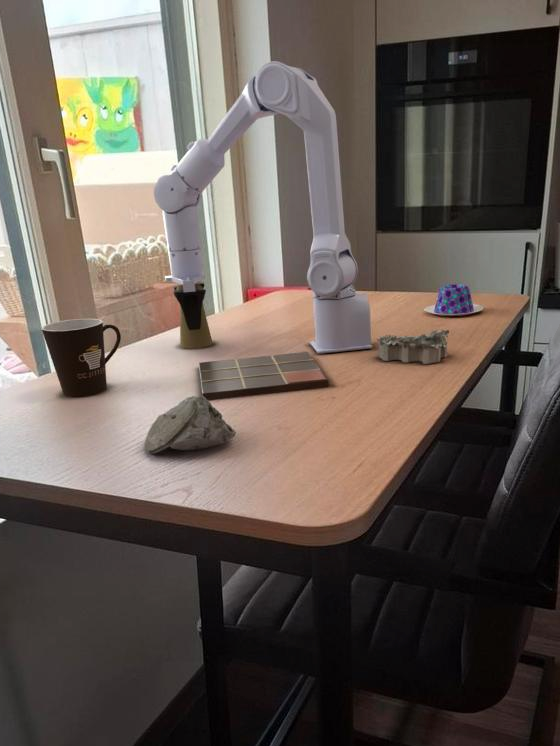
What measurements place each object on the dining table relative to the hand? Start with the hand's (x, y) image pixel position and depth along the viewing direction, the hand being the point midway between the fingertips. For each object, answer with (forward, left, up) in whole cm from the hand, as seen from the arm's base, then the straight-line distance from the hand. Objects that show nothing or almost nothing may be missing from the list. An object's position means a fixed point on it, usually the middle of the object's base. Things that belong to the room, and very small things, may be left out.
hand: (194, 326), depth 129 cm
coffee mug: (+16, +24, -4) cm, 29 cm away
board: (-9, +27, -3) cm, 29 cm away
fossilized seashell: (+2, +53, -4) cm, 53 cm away
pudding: (-53, -7, -4) cm, 54 cm away
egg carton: (-34, +25, -4) cm, 42 cm away
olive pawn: (0, 0, -4) cm, 4 cm away
